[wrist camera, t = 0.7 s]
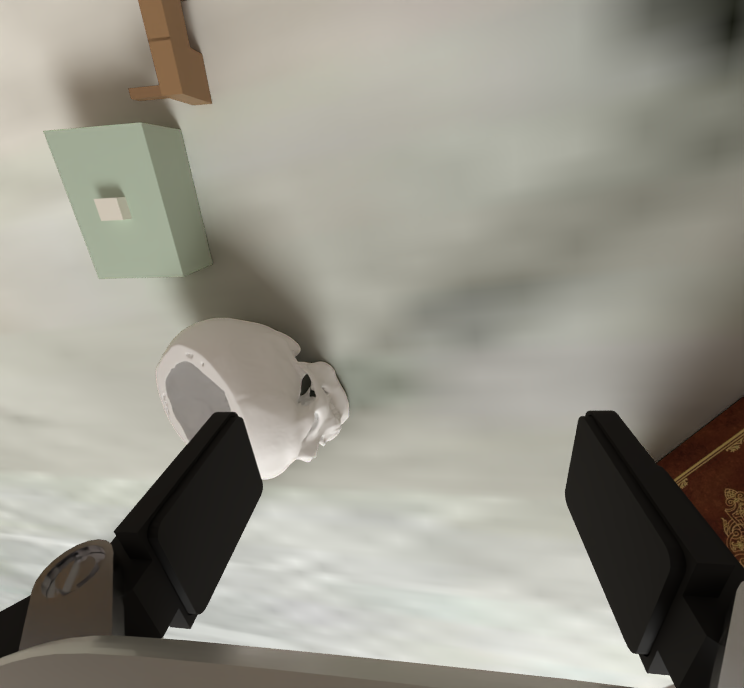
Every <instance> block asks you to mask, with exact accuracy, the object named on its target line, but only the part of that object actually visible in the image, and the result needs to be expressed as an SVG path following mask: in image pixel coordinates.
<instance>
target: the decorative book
mask: <svg viewBox="0 0 744 688" xmlns="http://www.w3.org/2000/svg"><path fill="white" fill-rule="evenodd" d="M656 464H657V465H659V466H661V467H663V468H664V469H665V470H666V471H667V472H668V473H669V475H670V476H671V477H672V479H673V480H674V481H675V482H676V484H677V485H678V486H679V487H680V489H681V490H682V491H683V492H684V494H685V495H686V496H687V497H688V499H689V500H690V501H691V502H692V504H693V505H694V506H695V507H696V509H697V510H698V511H699V512H700V514H701V515H702V516H703V517H704V519H705V520H706V521H707V522H708V524H709V525H710V526H711V527H712V529H713V530H714V531H715V532H716V534H717V535H718V536H719V537H720V539H721V540H722V541H723V542H724V544H725V545H726V546H727V547H728V549H729V550H730V551H731V552H732V554H733V555H734V556H735V557H736V559H737V560H738V561H739V562H740V564H741V565H742V566H743V567H744V397H743V398H741V399H740V400H739V401H737V402H736V403H735V404H733V405H732V406H731V407H730V408H728V409H727V410H726V411H724V412H723V413H722V414H720V415H719V416H718V417H716V418H715V419H714V420H713V421H711V422H710V423H709V424H707V425H706V426H705V427H703V428H702V429H701V430H699V431H698V432H697V433H695V434H694V435H693V436H692V437H690V438H689V439H688V440H686V441H685V442H684V443H682V444H681V445H680V446H678V447H677V448H676V449H675V450H673V451H672V452H671V453H669V454H668V455H667V456H665V457H664V458H663V459H661V460H660V461H659V462H658V463H656Z"/></svg>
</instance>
